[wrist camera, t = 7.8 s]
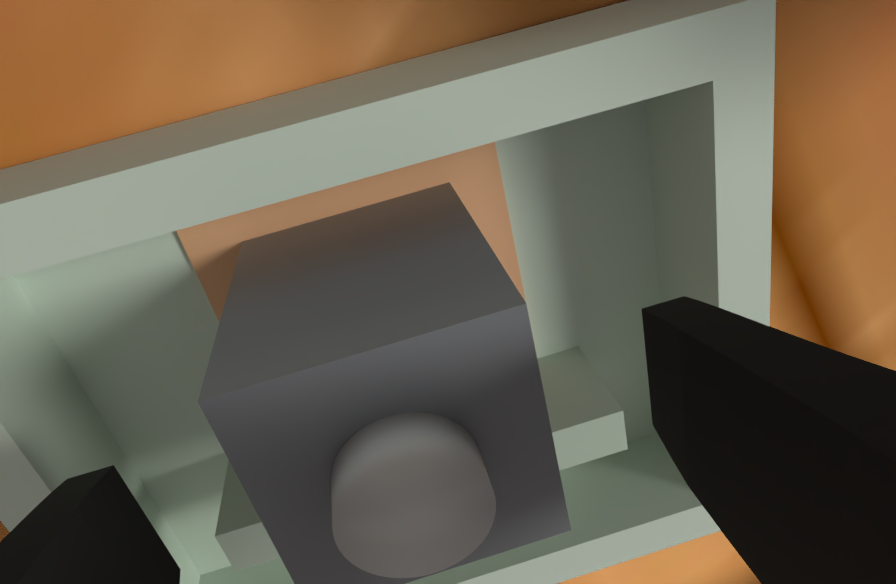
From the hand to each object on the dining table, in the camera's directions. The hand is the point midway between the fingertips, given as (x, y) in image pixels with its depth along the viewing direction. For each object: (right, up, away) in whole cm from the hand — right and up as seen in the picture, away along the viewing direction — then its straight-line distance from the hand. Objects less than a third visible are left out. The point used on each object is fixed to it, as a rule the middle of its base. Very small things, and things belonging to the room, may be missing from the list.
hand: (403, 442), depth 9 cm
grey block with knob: (-1, +2, +4) cm, 5 cm away
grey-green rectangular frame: (-1, +1, +5) cm, 6 cm away
